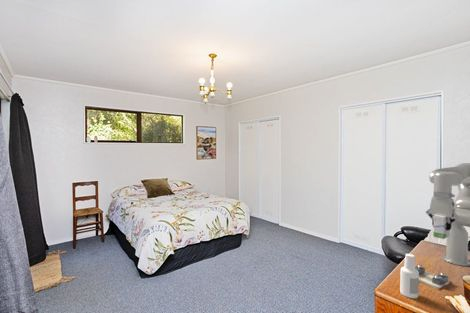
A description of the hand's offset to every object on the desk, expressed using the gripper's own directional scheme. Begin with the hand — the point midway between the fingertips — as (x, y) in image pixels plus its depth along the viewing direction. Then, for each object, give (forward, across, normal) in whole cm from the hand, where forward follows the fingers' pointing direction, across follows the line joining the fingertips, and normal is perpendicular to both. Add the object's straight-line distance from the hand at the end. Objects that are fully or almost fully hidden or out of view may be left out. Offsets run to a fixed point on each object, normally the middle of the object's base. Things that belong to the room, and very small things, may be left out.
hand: (441, 228), depth 136 cm
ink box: (+5, 0, 0) cm, 5 cm away
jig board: (+24, -1, +17) cm, 29 cm away
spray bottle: (+24, -4, +40) cm, 47 cm away
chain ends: (+24, -1, +17) cm, 29 cm away
